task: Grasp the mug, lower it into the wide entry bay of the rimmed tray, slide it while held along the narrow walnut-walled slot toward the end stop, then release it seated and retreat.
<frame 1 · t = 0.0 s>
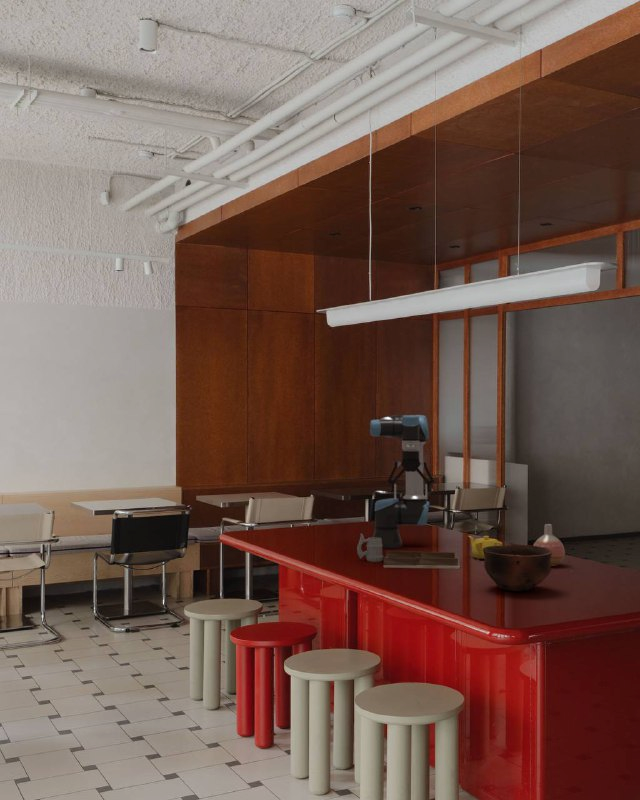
hand: (410, 499, 394), 28 cm above the countertop, fingers open, 13 cm apart
vase: (548, 566, 387), on the countertop
mug: (370, 561, 402), on the countertop
teapot: (485, 559, 406), on the countertop
bowl: (517, 590, 335), on the countertop
rimmed tray: (421, 564, 392), on the countertop
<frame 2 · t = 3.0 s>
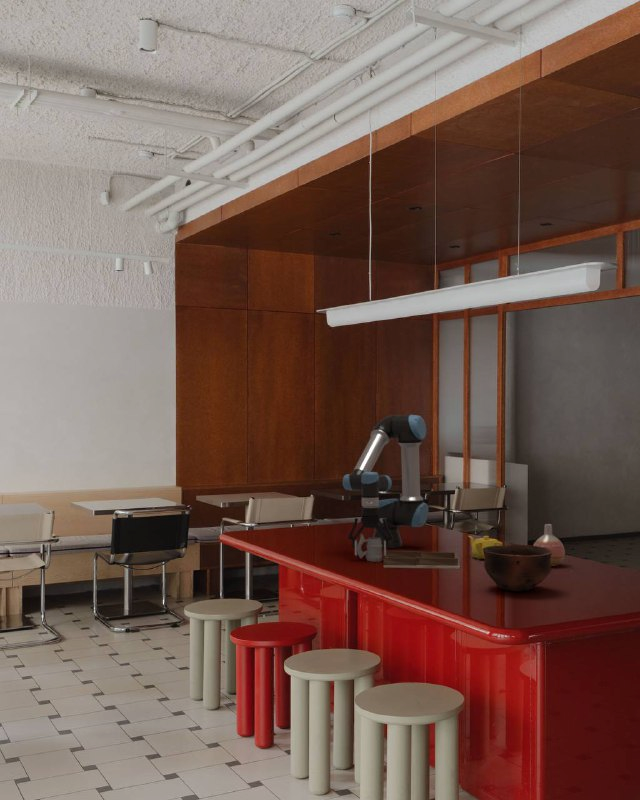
hand: (370, 555, 401), 2 cm above the countertop, fingers open, 12 cm apart
nothing on the countertop moved.
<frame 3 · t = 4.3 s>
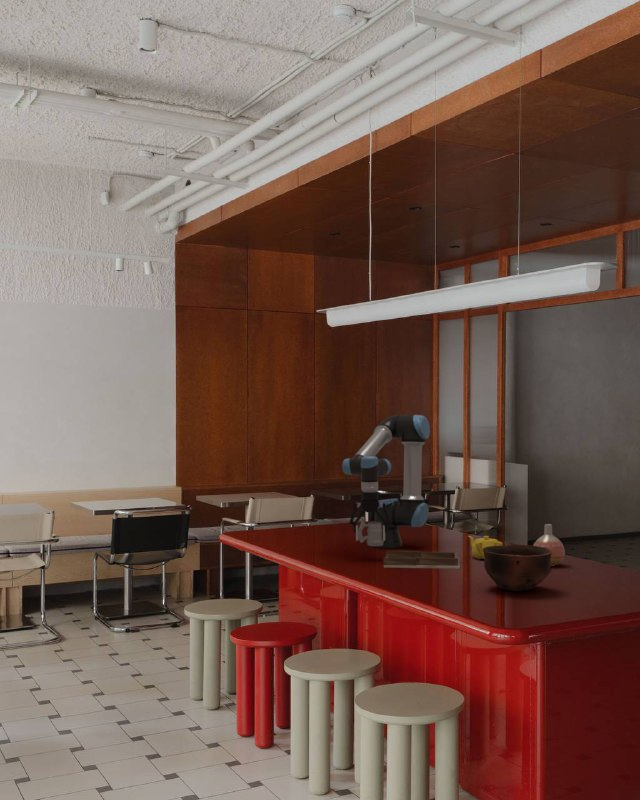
hand: (370, 540, 402), 9 cm above the countertop, fingers closed on mug, 11 cm apart
mug: (370, 545, 402), point 7 cm above the countertop, touching gripper
everything else where it was.
when the fingers open (4 cm above the countertop, at t = 12.5 s): mug stays where it is, resting on rimmed tray.
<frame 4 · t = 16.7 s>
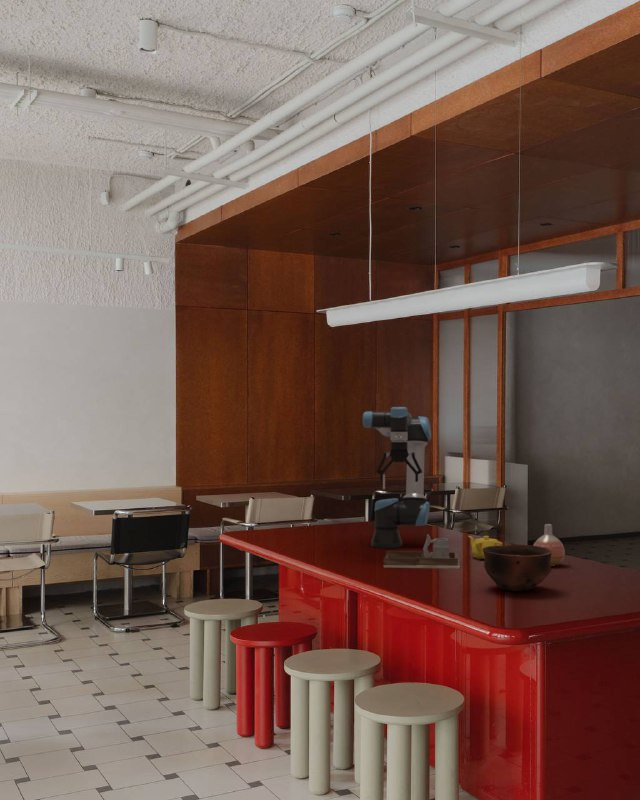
hand: (399, 489, 402), 32 cm above the countertop, fingers open, 13 cm apart
mug: (436, 562, 391), point 1 cm above the countertop, touching rimmed tray
everything else where it was.
at the end: mug inside the target area (1.9 cm from its centre), point 0.8 cm above the countertop; mug tilted 0°; the gripper is holding nothing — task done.
